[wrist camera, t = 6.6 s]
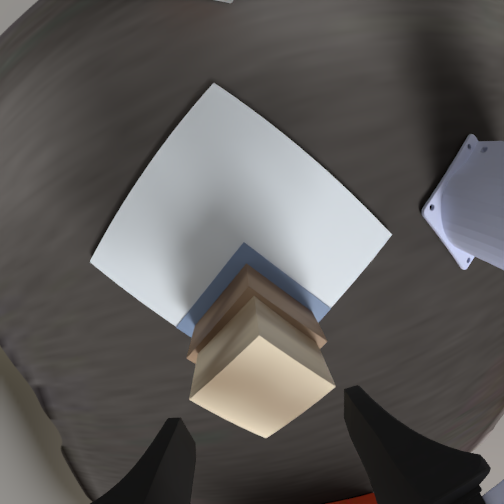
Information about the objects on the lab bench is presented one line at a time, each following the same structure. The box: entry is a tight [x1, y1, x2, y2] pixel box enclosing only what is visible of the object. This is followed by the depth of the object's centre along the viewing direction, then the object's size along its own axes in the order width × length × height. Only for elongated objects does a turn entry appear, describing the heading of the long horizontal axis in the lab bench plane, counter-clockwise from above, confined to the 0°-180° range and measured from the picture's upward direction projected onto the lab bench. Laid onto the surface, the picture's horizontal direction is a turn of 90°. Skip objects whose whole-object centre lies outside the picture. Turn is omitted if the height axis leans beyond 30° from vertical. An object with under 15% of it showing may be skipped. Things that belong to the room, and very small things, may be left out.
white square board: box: [90, 83, 392, 338], centre depth 19 cm, size 15×16×1 cm
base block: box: [187, 263, 327, 364], centre depth 18 cm, size 6×6×4 cm
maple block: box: [189, 296, 336, 438], centre depth 14 cm, size 5×5×4 cm
